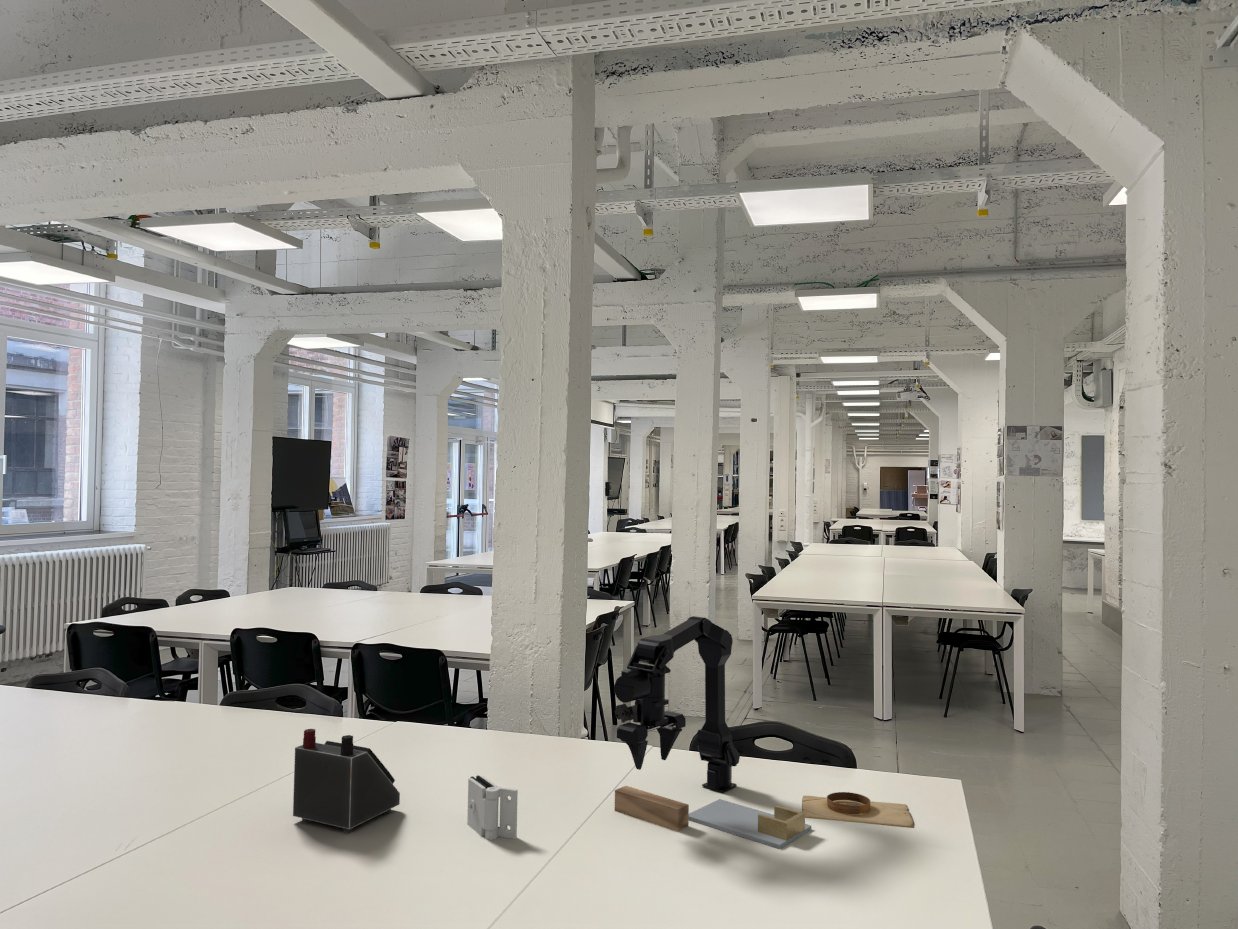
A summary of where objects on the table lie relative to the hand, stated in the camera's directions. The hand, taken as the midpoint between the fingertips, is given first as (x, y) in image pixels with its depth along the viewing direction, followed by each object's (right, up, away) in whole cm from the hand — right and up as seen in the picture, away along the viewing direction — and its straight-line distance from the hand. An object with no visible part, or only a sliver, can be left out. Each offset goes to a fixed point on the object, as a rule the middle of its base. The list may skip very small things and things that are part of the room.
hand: (651, 764), depth 189 cm
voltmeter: (-68, -11, -2) cm, 69 cm away
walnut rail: (0, -12, -1) cm, 12 cm away
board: (+48, -14, +6) cm, 50 cm away
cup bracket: (+28, -11, -9) cm, 31 cm away
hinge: (-35, -11, -9) cm, 38 cm away
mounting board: (+21, -12, -3) cm, 25 cm away
